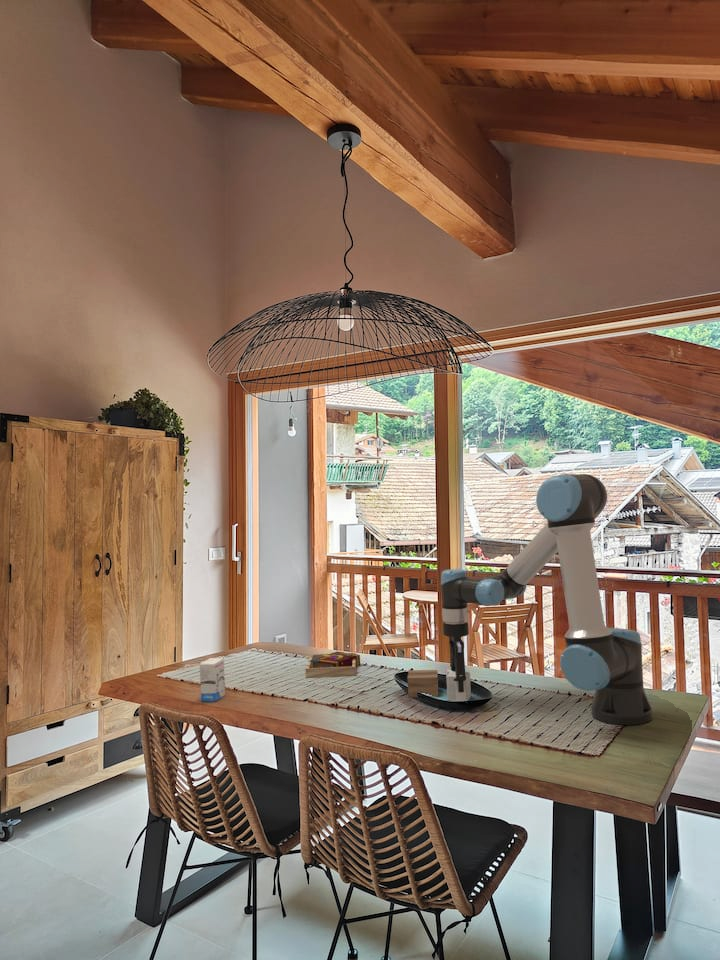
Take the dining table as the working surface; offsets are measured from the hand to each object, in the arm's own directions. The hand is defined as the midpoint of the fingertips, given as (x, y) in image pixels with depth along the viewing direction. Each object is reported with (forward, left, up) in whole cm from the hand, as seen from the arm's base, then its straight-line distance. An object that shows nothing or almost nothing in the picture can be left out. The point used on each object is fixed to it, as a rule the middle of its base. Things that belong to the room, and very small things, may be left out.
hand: (458, 697), depth 205 cm
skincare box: (0, 0, -1) cm, 1 cm away
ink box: (+12, +76, 0) cm, 77 cm away
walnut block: (+8, +10, 0) cm, 13 cm away
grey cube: (+13, -1, 0) cm, 13 cm away
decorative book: (+43, +39, -1) cm, 58 cm away
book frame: (+43, +40, 0) cm, 59 cm away
